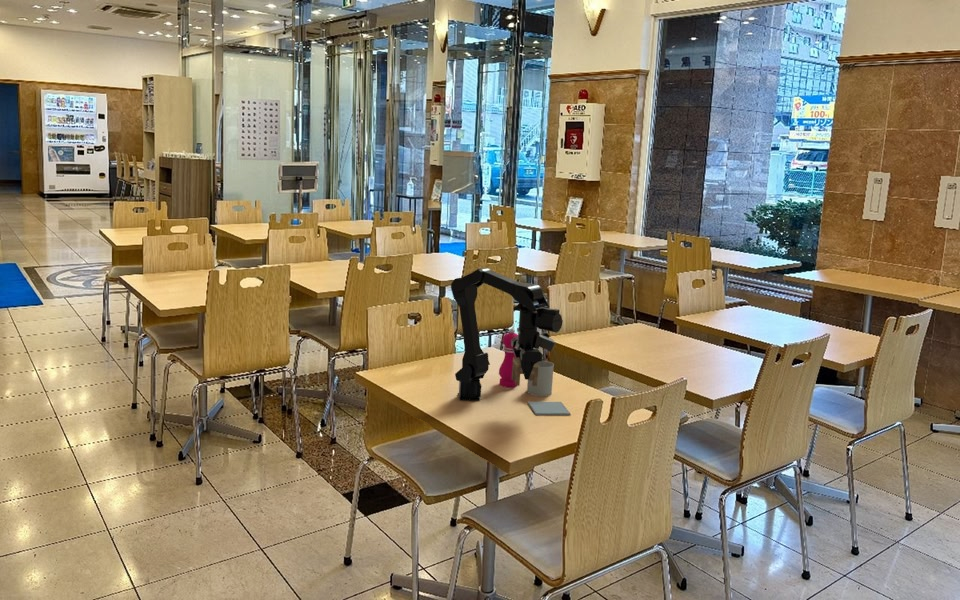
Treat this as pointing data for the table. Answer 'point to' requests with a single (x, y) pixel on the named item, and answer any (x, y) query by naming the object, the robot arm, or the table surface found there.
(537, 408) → the mat
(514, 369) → the stool
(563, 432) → the table surface
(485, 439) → the table surface
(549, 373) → the cup
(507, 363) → the pepper mill
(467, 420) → the table surface
